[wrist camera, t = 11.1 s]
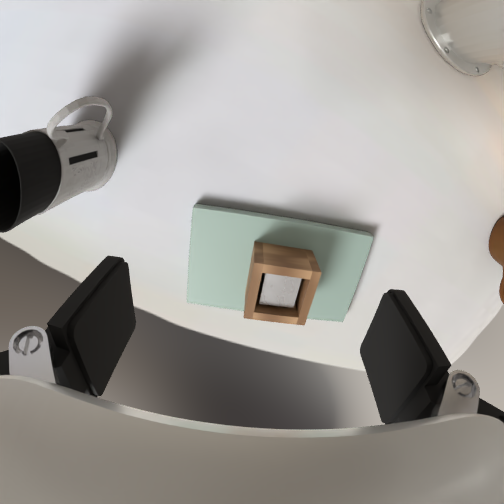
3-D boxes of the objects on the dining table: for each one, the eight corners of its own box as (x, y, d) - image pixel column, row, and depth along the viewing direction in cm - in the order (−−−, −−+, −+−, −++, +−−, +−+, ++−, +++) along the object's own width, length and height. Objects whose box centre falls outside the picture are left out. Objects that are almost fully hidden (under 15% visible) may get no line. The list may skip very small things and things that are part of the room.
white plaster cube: (296, 260, 31) (301, 278, 27) (289, 287, 33) (293, 307, 29) (264, 255, 31) (265, 273, 27) (258, 283, 32) (259, 303, 29)
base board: (369, 232, 31) (373, 237, 30) (340, 315, 36) (342, 321, 35) (195, 203, 30) (192, 207, 29) (189, 295, 35) (186, 302, 34)
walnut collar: (312, 250, 31) (321, 272, 26) (298, 298, 33) (304, 325, 29) (254, 241, 30) (254, 262, 26) (245, 291, 33) (243, 318, 28)
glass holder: (50, 149, 27) (-39, 177, 13) (132, 75, 24) (45, 51, 10) (80, 204, 30) (-1, 257, 16) (169, 138, 27) (94, 153, 13)
